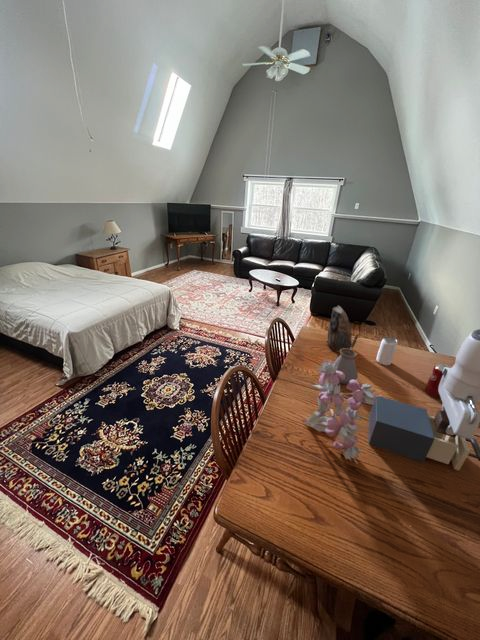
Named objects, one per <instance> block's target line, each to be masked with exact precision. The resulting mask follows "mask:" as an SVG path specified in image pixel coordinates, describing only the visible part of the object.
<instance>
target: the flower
mask: <svg viewBox="0 0 480 640" xmlns="http://www.w3.org/2000/svg"><path fill="white" fill-rule="evenodd" d="M334 362H335V361H334ZM337 368H338V364H337V362H335V364H334V366H333V362H332V360H327V361H326V357H324V358H323V361H321V363H320V365H318V366H317V370H318V373H320V375H319V377H318V383H319V384H311V385H310V386H309V389H311V388H313V389H315V390H319V391H320V393H319V394H318V395H317V407H318V408H317V410H316V411H314V412H313V413H312V414H311V415H310V416H309V417H307V418H306V419H303V418H302V419H301V422H302V423H304V425H305V424H306V425H308V426H310V427H311V428H312V429H314V430H315V431H317V432H319V433H320V432H323V433H325V434H326V435H327V436H329V437H331V438H333V437H336V436H337V438H338V439H339V441H340V442H339V441H338V440H335V441H334V442H333V447H334V449H335V450H337V451H341V450H342V451H343V452H342V455H343V457H344V459H345V460H346V461H348V460H350V462H352V459H353V460H354V461H355V463H356V464H359V463H358V461H357V459H356V457H359V455H360V454H362V452H361V449H360V447H358V446H357V445H356V444H358V435H357V433H356V432H358V433H359V432H360V429H359V427H358V424H357V423H356V421H359V420H360V419H361V418H362V415H360V411H359V409H361V406H363V405H362V404H367V405H370V406H372V405H373V404H374V403H375V402H376V399H375V397H380V396H381V397H382V394H380V395H377V394H375V393H374V392H376V389H375V388H374V389H371V388H373V387H374V385H370V384H368V383H363V384H360V382H359V381H358V379H356V380H353V379H352V380H350V383H349V384H346V389H347V390H349V391H352V392H341V384H340V383H339V378H338V377H337V376H339V377H340V378H342V379H343V380H344V379H345V374H344V373H343V372H341V371H338V370H337ZM340 392H341V393H340ZM348 395H351V397H349V398H347V399H346V402H347V406H346V407H344V406H345V405H344V404H343V403H344V402H345V399H344V397H343V396H348ZM376 395H377V396H376ZM374 401H375V402H374ZM332 403H333V404H334V409H335V412H334V410H333V409H331V405H332ZM344 409H345V411H346V412H345V411H344ZM328 411H330V414H331V416H330V415H328V414H326V413H327V412H328ZM338 417H339V420H340V421H339V420H338ZM362 455H363V454H362Z"/></svg>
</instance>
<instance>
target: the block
mask: <svg viewBox="0 0 480 640" xmlns="http://www.w3.org/2000/svg"><path fill="white" fill-rule="evenodd" d="M434 417H435V418H434V420H433V423H434V426H435V430H436V432H438V433H441V434H444V436H446V435H448V436H451V437H454V438H455V437H456V435H455V434H454V435H450V434H447V433H446V431H445V428H446V426H447V425H448V426H449V425H450V422H449V419H448V416H447V413H446V411H442V409H437V412H436V414H435V416H434Z"/></svg>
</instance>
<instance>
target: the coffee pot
mask: <svg viewBox="0 0 480 640" xmlns="http://www.w3.org/2000/svg"><path fill="white" fill-rule="evenodd" d="M359 338H360V336H359V333H357V334H356V333H355V334H354V338H353V340H352V342H351V343H352V345H351V348H350V349H347V348H343V349H341V350H340V351H339V353H340V355H339V356H338V357H337V358H336V359H335V361H334V362H332V364H333V366H334V364H335V362H337V364H338V368H337V370H338V371H341V372H343V373H344V374H345V379H344V380H343V379H342V378H340V377H339V376H337V377H338V378H339V384H340V385H341V384H342V385H348V384H349V383H350V380H352V379H353V380H358V378H359V377H358V376H359V375H358V370H357V366H356V362H355V358H356V357H358V354H357V352H356V351H355V350H353V348H354V346H355V345H356V343H357V339H359Z"/></svg>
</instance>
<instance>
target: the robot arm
mask: <svg viewBox="0 0 480 640" xmlns="http://www.w3.org/2000/svg"><path fill="white" fill-rule="evenodd" d="M451 367H452V368H448V367H444V369H443V376H442V378H441V381H440V384H439V388H438V392H439V394H440V397H441V399H440V400H441V403H442V405H441V410H442V411H446V413H447V416H448V419H449V422H450V425H449V426H448V425H447V426H446V428H445V431H446V433H447V434H450V435H454V434H455V435H457V436H460V437H463V438H467V439H474V436H475V435H476V432H477V430H478V428H479V425H480V410H479V408H478V406H477V405H476V404H478V403H480V328H479V329H475V330H472V332H470V333H469V334H468V335H467V336H466V337H465V339H464V341H463V342H462V344H461V345H460V347H459V349H458V351H457V353H456V355H455V362H454V364H453V365H452V366H451Z"/></svg>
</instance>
